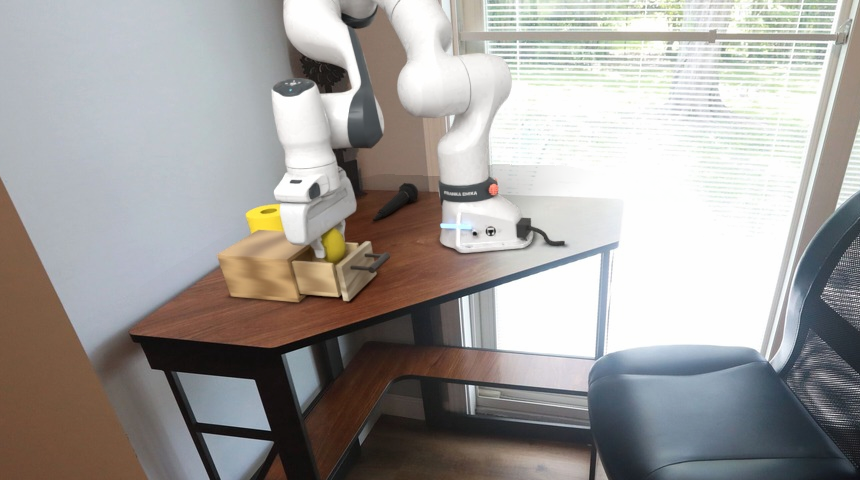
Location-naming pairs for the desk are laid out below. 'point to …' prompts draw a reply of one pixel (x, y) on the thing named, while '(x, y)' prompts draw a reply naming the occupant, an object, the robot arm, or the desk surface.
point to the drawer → (337, 271)
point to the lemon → (333, 245)
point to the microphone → (399, 200)
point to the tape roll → (265, 218)
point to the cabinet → (262, 267)
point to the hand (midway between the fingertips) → (331, 249)
